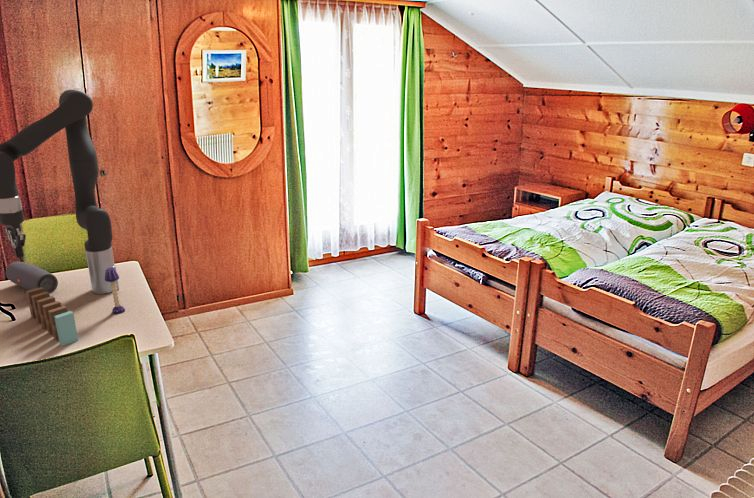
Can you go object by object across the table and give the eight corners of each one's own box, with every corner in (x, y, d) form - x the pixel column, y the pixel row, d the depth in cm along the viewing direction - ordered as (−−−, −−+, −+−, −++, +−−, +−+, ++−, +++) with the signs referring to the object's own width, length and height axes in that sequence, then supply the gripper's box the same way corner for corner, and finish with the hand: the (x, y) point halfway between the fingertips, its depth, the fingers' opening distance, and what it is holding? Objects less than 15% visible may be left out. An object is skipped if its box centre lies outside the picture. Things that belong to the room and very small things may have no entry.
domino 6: (59, 344, 187) (54, 316, 184) (75, 338, 191) (70, 310, 188) (62, 346, 186) (56, 318, 183) (78, 340, 190) (73, 312, 186)
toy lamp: (117, 315, 207) (110, 271, 201) (107, 313, 208) (100, 269, 203) (127, 309, 211) (121, 267, 205) (117, 307, 213) (110, 265, 207)
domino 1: (31, 317, 205) (25, 291, 201) (46, 312, 209) (41, 287, 205) (34, 319, 204) (28, 293, 200) (48, 314, 207) (43, 288, 204)
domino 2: (36, 322, 201) (31, 296, 198) (52, 317, 205) (46, 291, 202) (39, 324, 200) (33, 297, 197) (54, 319, 204) (49, 293, 200)
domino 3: (42, 327, 198) (36, 300, 194) (57, 322, 202) (52, 296, 198) (44, 329, 197) (39, 302, 193) (60, 324, 200) (54, 297, 197)
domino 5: (53, 338, 191) (48, 310, 188) (69, 332, 195) (64, 305, 191) (56, 340, 190) (50, 312, 186) (72, 334, 193) (66, 307, 190)
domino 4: (47, 332, 194) (42, 305, 191) (63, 327, 198) (58, 300, 195) (50, 334, 193) (44, 307, 190) (66, 329, 197) (60, 302, 193)
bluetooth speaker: (6, 287, 229) (1, 264, 225) (30, 280, 236) (25, 257, 233) (37, 301, 217) (31, 277, 213) (61, 293, 224) (56, 269, 221)
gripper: (-11, 208, 199) (0, 255, 205) (4, 215, 191) (15, 264, 197) (13, 203, 205) (23, 249, 211) (29, 210, 197) (39, 258, 203)
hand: (19, 256), depth 204 cm, fingers closed
